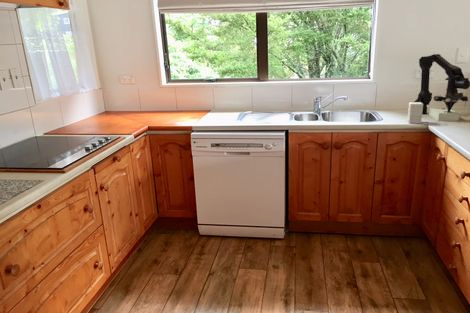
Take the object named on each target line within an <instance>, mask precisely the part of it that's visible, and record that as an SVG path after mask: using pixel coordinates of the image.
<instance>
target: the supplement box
mask: <svg viewBox="0 0 470 313" xmlns="http://www.w3.org/2000/svg"><path fill="white" fill-rule="evenodd" d="M422 111H423V104H422V103H421V102H415V101H413V102H411V101H410V102H408V110H407V119H406V122H407V123H408V124H422V118H423V114H422Z"/></svg>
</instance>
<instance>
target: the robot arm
mask: <svg viewBox="0 0 470 313" xmlns="http://www.w3.org/2000/svg"><path fill="white" fill-rule="evenodd" d="M434 63H436V64H437V65H438V66H440V67H441V68H442V69H443V70H444V71H445V72H444V73H445V74H446V75H447V77H446V78H445V79H444V80H445V81H447V86H446V89H445V90H446V92H445V96H442V95H434V96H433V92H431V91H430V75H431V74H430V71H431V68H432V67H433V64H434ZM418 65H419V68H420V69H421V76H420V78H421V80H420V91H419V93H418V94H417V98H416V100H414V102H421V103H422V104H423V111H422V115H427V113H428V105H430V103H431V101H432V99H433V101H435V102H444V104H445V106H446V107H445V108H447V110H448V112H450V110H451V109H452V108H453V107H454V105H455V104H457V103H458V102H459V101H462V102H468V101H469V97H468V96H466V95H464V93H463V92H458V91H459V90H458V89H460V90H468V89H469V88H470V80H469V77H465V75H464V73H463V71H462V68H461V67H459V66H458V65H457V66H456V65H454V64H452V63H450V62H449V61H448V60H447V59H445V58H444V57H443V56H442V55H441V54H440V53H437V54H436V53H434V54H431V55H426V56H421V57H420V58H419V59H418Z"/></svg>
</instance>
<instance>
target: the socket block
mask: <svg viewBox="0 0 470 313" xmlns="http://www.w3.org/2000/svg"><path fill="white" fill-rule="evenodd" d="M439 108H440V107H429V108H428V109H429V110H428V116H430V117H431V118H433V119H434V118H435V119H434V120H436V121H437V120H438V121H437V122H459V117H460V113H459V112H457V111H455V110H453V109H452V108H451V110H450V111H452V113H445V111H448V110H447V107H445V108H446V110H440V109H439Z"/></svg>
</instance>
